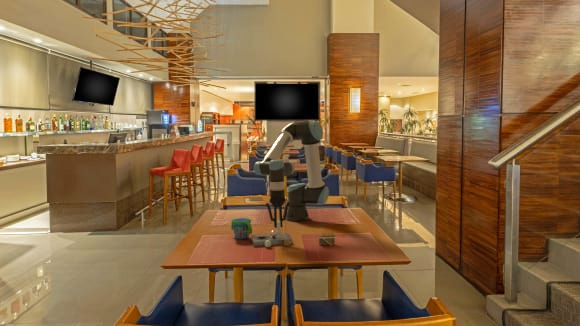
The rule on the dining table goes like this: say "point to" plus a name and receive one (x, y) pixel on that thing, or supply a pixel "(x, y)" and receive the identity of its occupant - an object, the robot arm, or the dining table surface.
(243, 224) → the snack cup
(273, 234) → the steel ball
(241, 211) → the dining table surface
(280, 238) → the plate
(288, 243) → the cork ball
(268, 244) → the pale green ball
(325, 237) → the platform
